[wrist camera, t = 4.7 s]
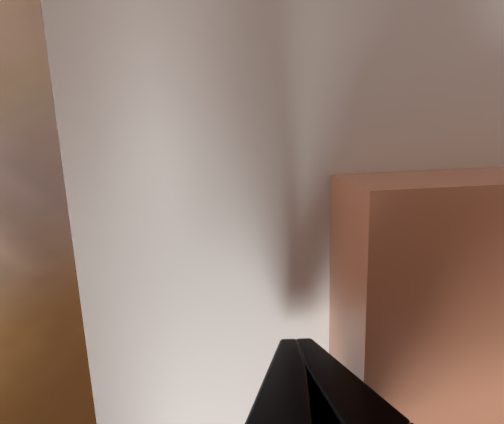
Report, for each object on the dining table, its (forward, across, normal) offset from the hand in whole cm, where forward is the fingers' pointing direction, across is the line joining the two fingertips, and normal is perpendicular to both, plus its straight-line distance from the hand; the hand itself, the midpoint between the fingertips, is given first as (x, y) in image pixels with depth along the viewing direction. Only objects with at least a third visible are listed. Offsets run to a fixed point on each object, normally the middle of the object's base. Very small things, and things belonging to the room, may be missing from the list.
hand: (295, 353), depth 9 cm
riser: (+5, -1, 0) cm, 5 cm away
